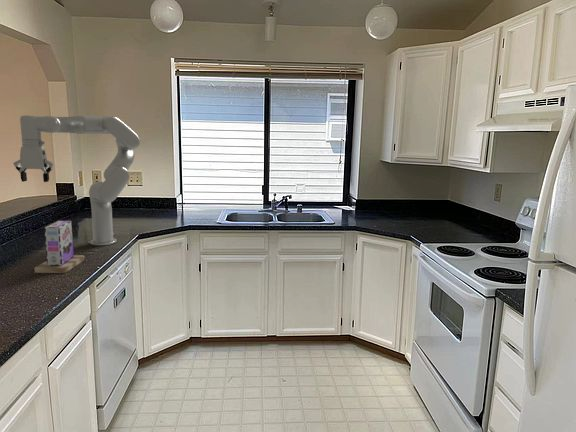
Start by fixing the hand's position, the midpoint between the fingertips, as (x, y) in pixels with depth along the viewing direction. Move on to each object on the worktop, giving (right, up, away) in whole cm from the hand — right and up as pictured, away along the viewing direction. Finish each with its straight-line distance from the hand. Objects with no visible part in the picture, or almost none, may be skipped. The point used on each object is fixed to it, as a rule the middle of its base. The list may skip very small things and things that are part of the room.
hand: (35, 181), depth 188 cm
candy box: (+19, -35, -13) cm, 42 cm away
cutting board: (+19, -37, -13) cm, 44 cm away
